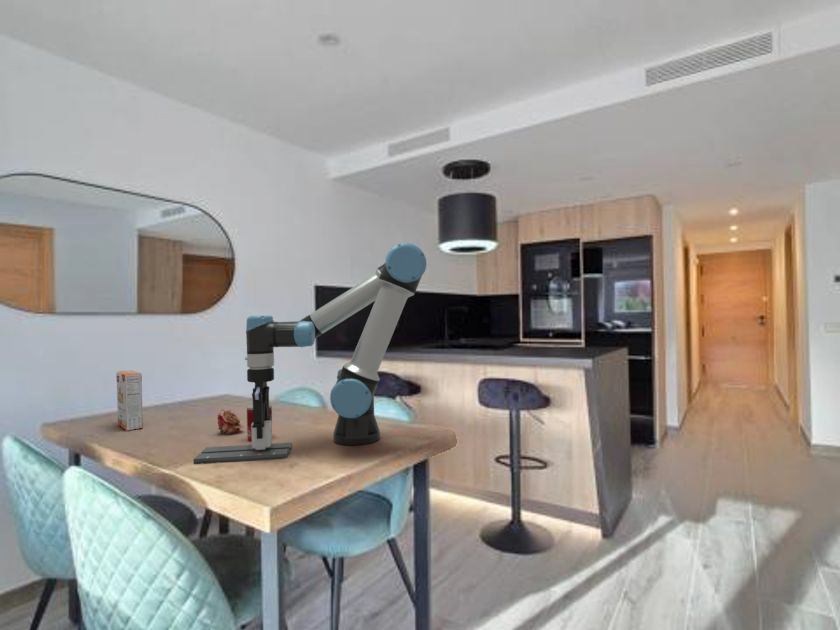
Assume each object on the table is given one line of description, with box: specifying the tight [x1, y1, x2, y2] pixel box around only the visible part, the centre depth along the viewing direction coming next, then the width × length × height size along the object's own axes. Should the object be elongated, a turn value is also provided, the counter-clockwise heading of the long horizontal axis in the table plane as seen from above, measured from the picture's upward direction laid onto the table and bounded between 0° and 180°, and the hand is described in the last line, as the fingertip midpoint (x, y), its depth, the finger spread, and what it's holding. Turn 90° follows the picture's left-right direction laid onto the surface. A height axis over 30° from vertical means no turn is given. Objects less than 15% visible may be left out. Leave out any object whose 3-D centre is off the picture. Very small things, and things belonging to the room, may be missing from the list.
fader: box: [251, 419, 273, 450], centre depth 139 cm, size 5×4×8 cm
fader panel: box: [193, 442, 293, 465], centre depth 139 cm, size 25×12×1 cm, turn 98°
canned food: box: [246, 403, 273, 442], centre depth 158 cm, size 8×8×11 cm
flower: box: [217, 409, 244, 435], centre depth 167 cm, size 10×9×8 cm
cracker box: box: [116, 370, 144, 432], centre depth 179 cm, size 14×6×21 cm, turn 43°
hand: (262, 446), depth 139 cm, fingers closed on fader, 4 cm apart
